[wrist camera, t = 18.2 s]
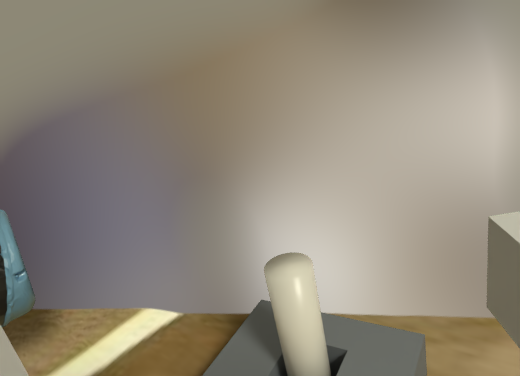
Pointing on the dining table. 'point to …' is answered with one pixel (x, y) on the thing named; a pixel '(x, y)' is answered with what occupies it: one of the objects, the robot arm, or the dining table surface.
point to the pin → (297, 314)
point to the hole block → (337, 342)
